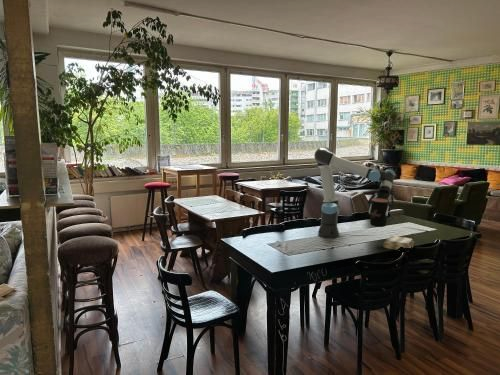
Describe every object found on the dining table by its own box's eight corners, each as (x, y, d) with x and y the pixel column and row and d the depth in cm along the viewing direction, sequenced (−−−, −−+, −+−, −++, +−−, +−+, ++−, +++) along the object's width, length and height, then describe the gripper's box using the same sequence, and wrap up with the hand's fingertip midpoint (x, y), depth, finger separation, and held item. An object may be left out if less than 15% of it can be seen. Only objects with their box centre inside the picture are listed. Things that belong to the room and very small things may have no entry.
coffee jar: (366, 223, 257) (368, 198, 254) (379, 222, 261) (381, 197, 258) (376, 227, 247) (379, 201, 244) (389, 226, 251) (391, 200, 248)
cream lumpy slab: (383, 247, 244) (383, 240, 243) (389, 241, 257) (389, 234, 256) (409, 251, 235) (409, 244, 234) (413, 245, 248) (414, 238, 248)
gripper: (403, 193, 257) (396, 219, 247) (369, 189, 270) (361, 214, 259) (402, 186, 252) (395, 212, 241) (368, 183, 265) (360, 208, 254)
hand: (377, 213), depth 250 cm, fingers closed on coffee jar, 11 cm apart
